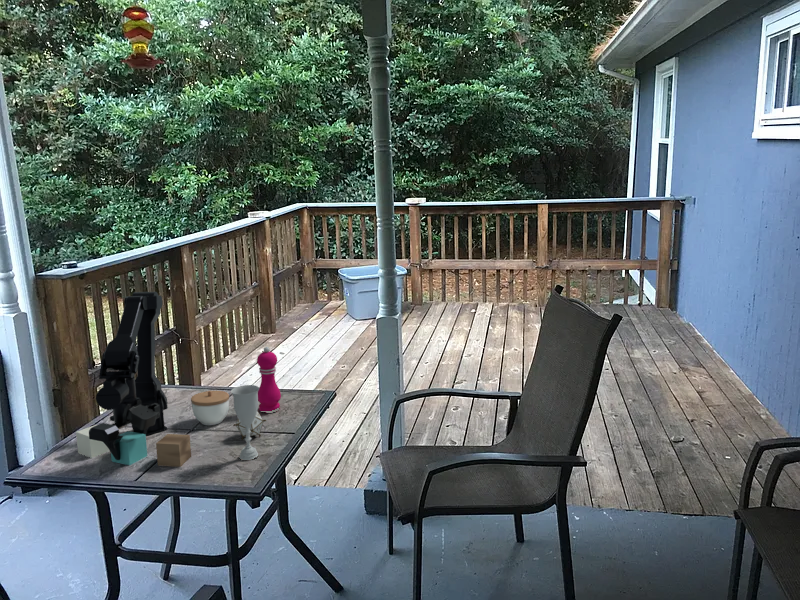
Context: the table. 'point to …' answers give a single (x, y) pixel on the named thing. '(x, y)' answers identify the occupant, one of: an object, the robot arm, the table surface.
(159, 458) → the walnut block
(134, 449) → the teal block
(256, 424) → the game die
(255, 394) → the chalice
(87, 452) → the cream block
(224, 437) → the table surface
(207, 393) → the lidded jar
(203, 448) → the table surface
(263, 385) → the pepper mill
